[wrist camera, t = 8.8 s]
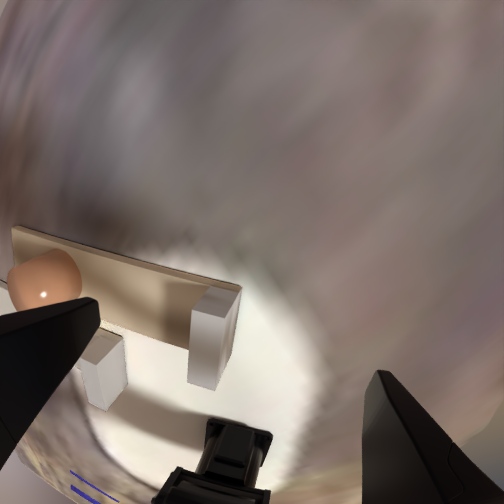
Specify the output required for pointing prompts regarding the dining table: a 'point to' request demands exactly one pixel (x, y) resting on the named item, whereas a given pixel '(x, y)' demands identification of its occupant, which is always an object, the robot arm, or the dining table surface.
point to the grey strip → (93, 361)
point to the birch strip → (152, 301)
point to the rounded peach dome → (44, 281)
